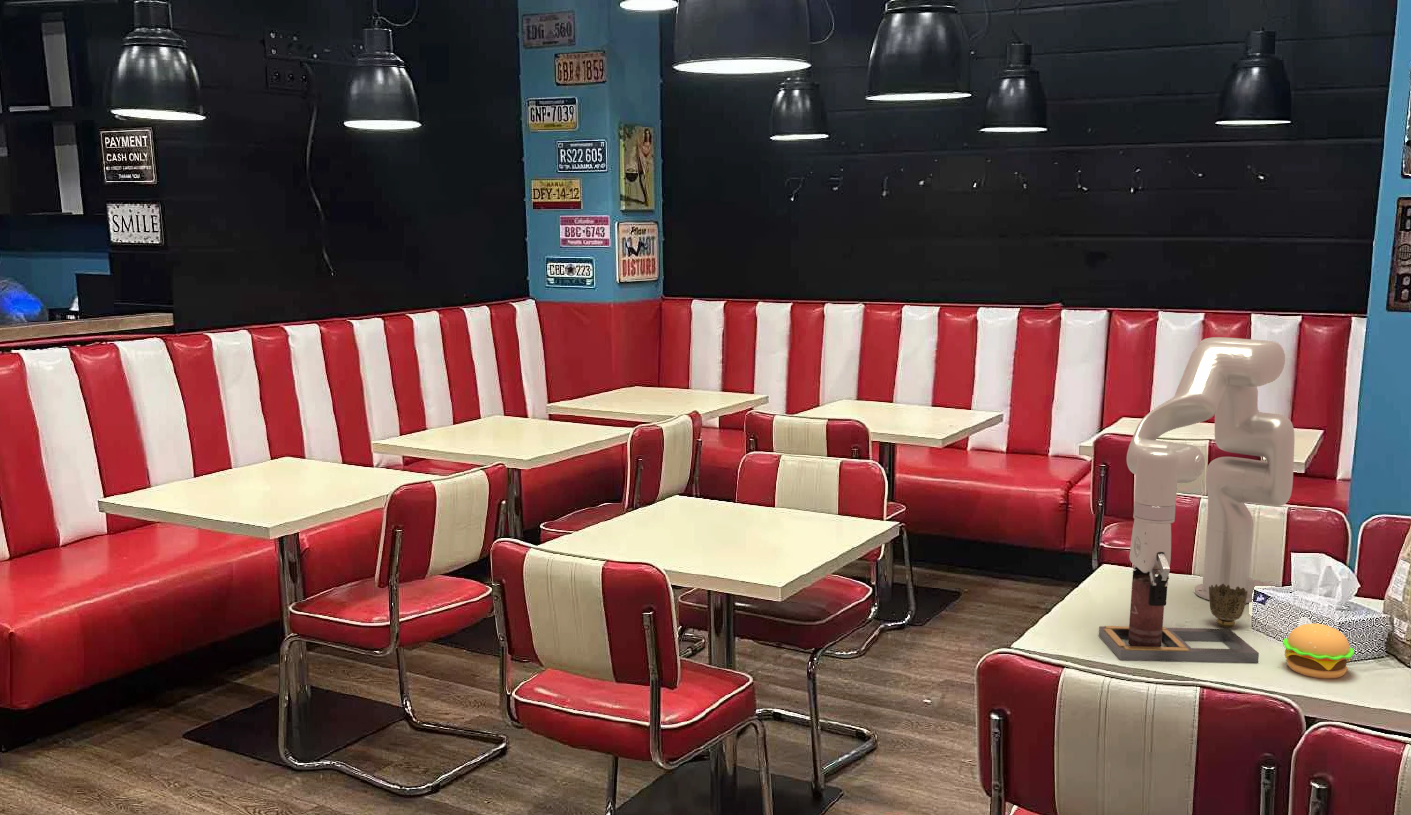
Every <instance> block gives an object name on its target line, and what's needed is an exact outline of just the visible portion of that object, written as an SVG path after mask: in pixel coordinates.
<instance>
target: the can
mask: <svg viewBox="0 0 1411 815" xmlns="http://www.w3.org/2000/svg"><path fill="white" fill-rule="evenodd" d="M1155 578H1157V576H1156V575H1155ZM1149 585H1152V583H1151V578H1150V575H1138V576H1135V577H1134V580H1133V581H1131V595H1130V607H1129V608H1130V609H1129V637H1128V640H1127V641H1128V643H1127V644H1128V645H1129V646H1137V647H1162V643H1163V641H1162V629H1163V627H1164V626H1163V625H1164V611H1165V606H1150V605H1149V604H1148V600H1149Z"/></svg>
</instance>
